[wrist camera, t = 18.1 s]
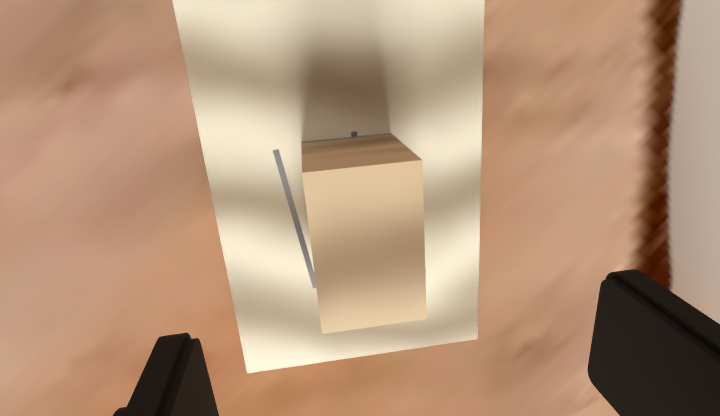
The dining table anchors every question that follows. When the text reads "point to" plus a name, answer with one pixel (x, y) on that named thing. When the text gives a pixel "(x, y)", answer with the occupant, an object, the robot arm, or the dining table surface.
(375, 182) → the block
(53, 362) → the dining table surface
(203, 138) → the board
